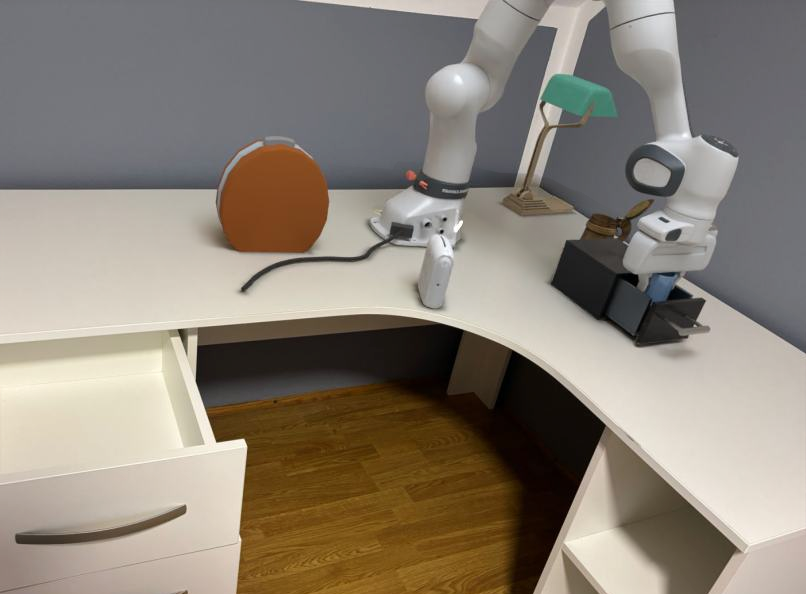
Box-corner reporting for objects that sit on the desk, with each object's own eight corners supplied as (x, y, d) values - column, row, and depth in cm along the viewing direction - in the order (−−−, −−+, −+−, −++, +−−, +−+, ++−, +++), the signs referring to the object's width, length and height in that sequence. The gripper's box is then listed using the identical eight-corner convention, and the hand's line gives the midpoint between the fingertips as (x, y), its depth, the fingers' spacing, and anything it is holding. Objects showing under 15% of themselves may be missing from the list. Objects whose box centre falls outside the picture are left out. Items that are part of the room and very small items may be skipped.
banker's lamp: (493, 198, 199) (530, 70, 181) (546, 196, 209) (586, 74, 191) (530, 221, 188) (573, 87, 170) (584, 217, 198) (630, 90, 180)
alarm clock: (310, 233, 157) (325, 132, 145) (322, 253, 149) (339, 148, 137) (211, 230, 149) (218, 124, 137) (218, 251, 141) (226, 140, 130)
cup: (629, 293, 141) (642, 265, 138) (649, 292, 143) (662, 263, 140) (649, 307, 137) (663, 278, 134) (669, 306, 139) (683, 277, 136)
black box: (648, 314, 150) (668, 270, 144) (597, 319, 143) (616, 273, 138) (599, 280, 161) (616, 238, 156) (550, 283, 155) (566, 239, 150)
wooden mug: (628, 277, 166) (658, 205, 156) (571, 263, 167) (597, 191, 158) (623, 262, 173) (652, 193, 164) (569, 249, 175) (594, 180, 165)
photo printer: (443, 310, 136) (459, 252, 129) (422, 307, 135) (437, 249, 129) (435, 285, 144) (449, 230, 138) (415, 283, 144) (428, 227, 137)
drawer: (709, 353, 137) (729, 314, 132) (660, 360, 131) (679, 319, 127) (636, 302, 152) (652, 266, 147) (589, 307, 146) (604, 269, 141)
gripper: (707, 217, 138) (678, 279, 146) (632, 218, 130) (605, 284, 137) (733, 231, 134) (702, 294, 141) (657, 233, 125) (628, 300, 132)
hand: (654, 289), depth 139 cm, fingers closed on cup, 6 cm apart
